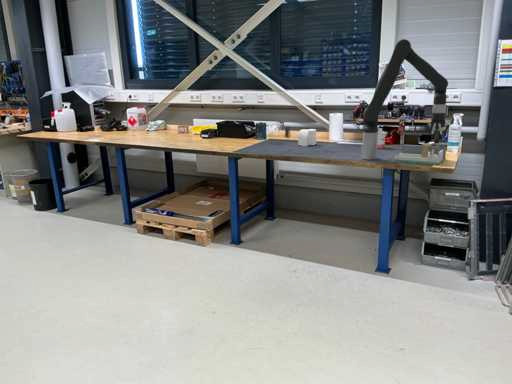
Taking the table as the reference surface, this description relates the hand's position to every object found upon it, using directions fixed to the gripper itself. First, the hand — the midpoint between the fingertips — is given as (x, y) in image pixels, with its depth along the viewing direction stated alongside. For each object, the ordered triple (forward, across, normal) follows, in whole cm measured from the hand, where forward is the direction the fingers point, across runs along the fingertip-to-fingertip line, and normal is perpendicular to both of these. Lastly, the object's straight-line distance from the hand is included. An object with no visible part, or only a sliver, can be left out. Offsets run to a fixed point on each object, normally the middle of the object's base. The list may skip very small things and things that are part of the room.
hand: (436, 140), depth 252 cm
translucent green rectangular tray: (+12, -7, -7) cm, 16 cm away
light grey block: (+13, -99, +18) cm, 102 cm away
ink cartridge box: (+12, -45, +27) cm, 54 cm away
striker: (+10, +2, -6) cm, 12 cm away
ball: (+9, +2, -11) cm, 14 cm away
